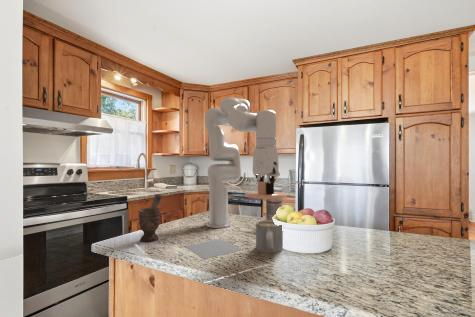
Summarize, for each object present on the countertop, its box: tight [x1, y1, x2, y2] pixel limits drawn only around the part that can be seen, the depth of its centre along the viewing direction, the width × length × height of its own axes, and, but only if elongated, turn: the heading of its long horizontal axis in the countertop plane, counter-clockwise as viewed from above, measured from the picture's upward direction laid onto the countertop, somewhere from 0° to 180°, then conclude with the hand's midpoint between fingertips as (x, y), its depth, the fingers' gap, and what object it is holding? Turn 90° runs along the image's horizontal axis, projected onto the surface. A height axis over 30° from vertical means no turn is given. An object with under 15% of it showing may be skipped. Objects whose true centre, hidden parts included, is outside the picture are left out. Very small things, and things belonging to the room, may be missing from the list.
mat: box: [184, 238, 243, 260], centre depth 98 cm, size 16×16×1 cm
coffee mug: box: [255, 219, 284, 254], centre depth 96 cm, size 13×10×10 cm
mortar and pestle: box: [138, 193, 163, 244], centre depth 107 cm, size 12×9×20 cm
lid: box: [244, 180, 287, 200], centre depth 96 cm, size 15×15×6 cm
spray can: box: [265, 186, 283, 220], centre depth 132 cm, size 8×8×20 cm
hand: (265, 192), depth 97 cm, fingers closed on lid, 4 cm apart
